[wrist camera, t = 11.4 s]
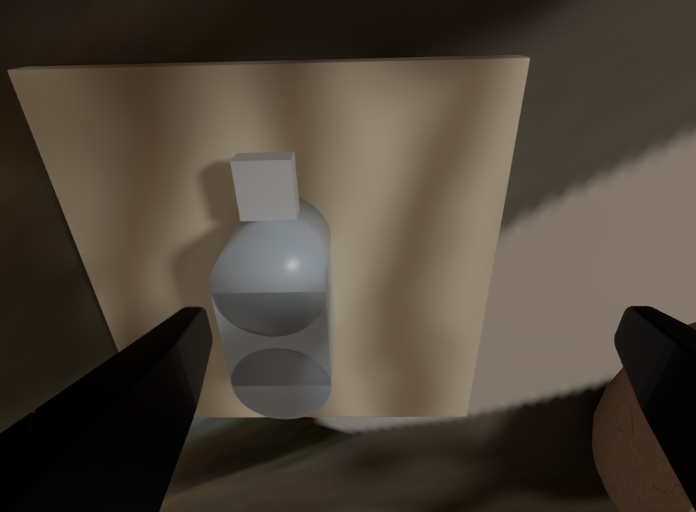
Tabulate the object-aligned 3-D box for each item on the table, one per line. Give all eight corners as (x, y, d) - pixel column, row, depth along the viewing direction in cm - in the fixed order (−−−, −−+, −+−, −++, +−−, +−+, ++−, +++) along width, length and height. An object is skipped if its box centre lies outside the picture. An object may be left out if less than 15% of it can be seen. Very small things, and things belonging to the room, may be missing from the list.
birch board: (519, 54, 17) (529, 57, 16) (462, 400, 27) (466, 416, 26) (27, 66, 17) (7, 70, 16) (152, 401, 28) (144, 417, 26)
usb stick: (336, 352, 24) (333, 418, 20) (258, 353, 24) (239, 419, 20) (326, 139, 18) (317, 175, 14) (220, 141, 18) (183, 177, 14)
